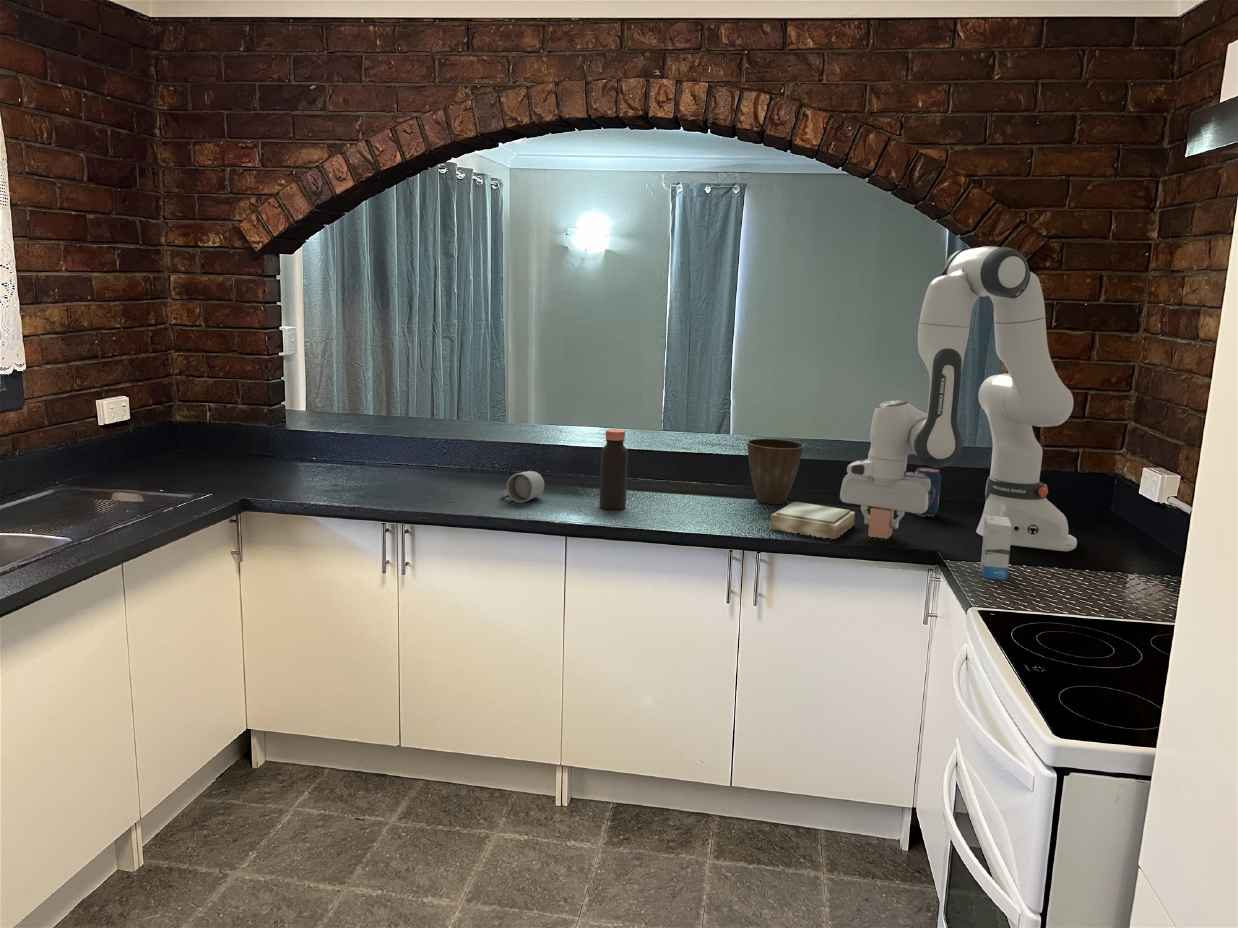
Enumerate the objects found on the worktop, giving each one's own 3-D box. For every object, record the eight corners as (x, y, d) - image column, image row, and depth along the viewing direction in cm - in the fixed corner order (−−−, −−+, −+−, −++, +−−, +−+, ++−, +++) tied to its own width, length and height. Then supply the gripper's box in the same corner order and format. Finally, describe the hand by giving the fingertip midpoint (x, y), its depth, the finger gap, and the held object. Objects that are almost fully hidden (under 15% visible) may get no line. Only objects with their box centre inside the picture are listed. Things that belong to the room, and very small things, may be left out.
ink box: (1007, 581, 196) (1014, 526, 194) (981, 578, 198) (987, 523, 196) (1003, 569, 205) (1009, 516, 202) (978, 566, 206) (984, 514, 204)
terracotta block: (891, 535, 228) (894, 507, 227) (887, 540, 224) (889, 511, 223) (872, 532, 230) (875, 504, 229) (868, 537, 226) (870, 508, 225)
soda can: (908, 515, 249) (913, 470, 247) (911, 509, 256) (915, 465, 253) (936, 518, 247) (941, 473, 244) (938, 512, 253) (943, 468, 251)
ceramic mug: (546, 497, 252) (546, 469, 251) (532, 504, 245) (532, 475, 243) (510, 493, 256) (510, 465, 255) (495, 500, 249) (495, 471, 247)
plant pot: (756, 492, 269) (759, 436, 266) (806, 500, 262) (811, 442, 258) (735, 502, 256) (738, 443, 253) (787, 510, 249) (792, 450, 246)
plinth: (853, 525, 236) (855, 509, 235) (834, 539, 222) (836, 523, 222) (791, 515, 244) (793, 500, 243) (770, 528, 230) (771, 512, 229)
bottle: (626, 504, 248) (629, 429, 244) (624, 511, 241) (627, 433, 237) (600, 503, 249) (603, 427, 245) (597, 509, 242) (600, 432, 238)
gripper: (934, 472, 222) (928, 529, 225) (848, 461, 231) (843, 516, 234) (929, 477, 216) (922, 535, 219) (840, 465, 226) (835, 521, 229)
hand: (881, 525), depth 227 cm, fingers open, 5 cm apart
